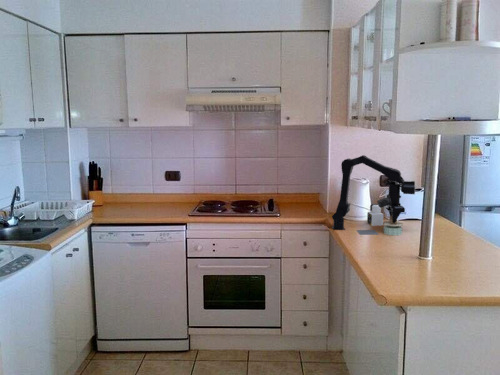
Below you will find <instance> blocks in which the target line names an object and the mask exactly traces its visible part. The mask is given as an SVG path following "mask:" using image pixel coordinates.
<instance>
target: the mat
mask: <svg viewBox="0 0 500 375" xmlns="http://www.w3.org/2000/svg"><path fill="white" fill-rule="evenodd" d="M356 232H357V233H358V234H359V235H361V236H363V235H364V236H366V235H367V236H373V235H375V236H379V235H380V234H379V233H378V232H377V231H376V230H375V229H356Z"/></svg>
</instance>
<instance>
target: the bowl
mask: <svg viewBox="0 0 500 375" xmlns="http://www.w3.org/2000/svg"><path fill="white" fill-rule="evenodd" d="M402 233H403V226H387V225H383V234H384V235H387V236H401V235H402Z"/></svg>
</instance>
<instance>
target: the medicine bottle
mask: <svg viewBox="0 0 500 375" xmlns="http://www.w3.org/2000/svg"><path fill="white" fill-rule="evenodd" d="M366 220H367V221H366V222H367V225H369V226H372V227H375V226H379V227H380V226H384V224H383V222H384V213H382V208H380V207H379V206H378V203H373V204H370V207H369V211H367V219H366Z"/></svg>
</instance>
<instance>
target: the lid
mask: <svg viewBox="0 0 500 375" xmlns="http://www.w3.org/2000/svg"><path fill="white" fill-rule="evenodd" d="M385 225H387V226H401V227H403V225H404V223H403V222H401V221H398V219H397V220H396V222H395V223H393V220H392V215H389V220H387V221H386V220H385V221H383V226H385Z"/></svg>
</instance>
